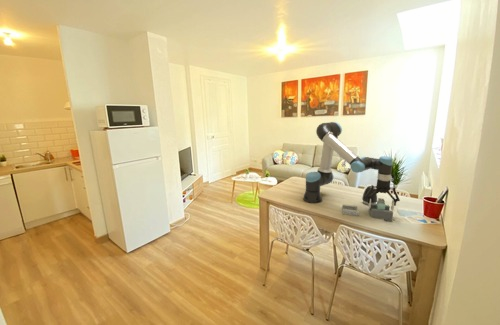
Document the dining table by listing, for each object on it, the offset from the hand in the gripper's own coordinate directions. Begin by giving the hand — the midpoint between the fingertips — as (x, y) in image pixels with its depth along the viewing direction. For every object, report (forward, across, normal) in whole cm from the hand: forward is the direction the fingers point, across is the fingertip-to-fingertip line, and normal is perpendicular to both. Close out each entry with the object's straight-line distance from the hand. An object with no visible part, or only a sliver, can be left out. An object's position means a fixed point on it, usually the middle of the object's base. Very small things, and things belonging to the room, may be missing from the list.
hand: (380, 208), depth 143 cm
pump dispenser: (+6, -4, +19) cm, 20 cm away
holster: (+6, -19, -1) cm, 20 cm away
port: (+6, 0, 0) cm, 6 cm away
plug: (+5, 0, 0) cm, 5 cm away
